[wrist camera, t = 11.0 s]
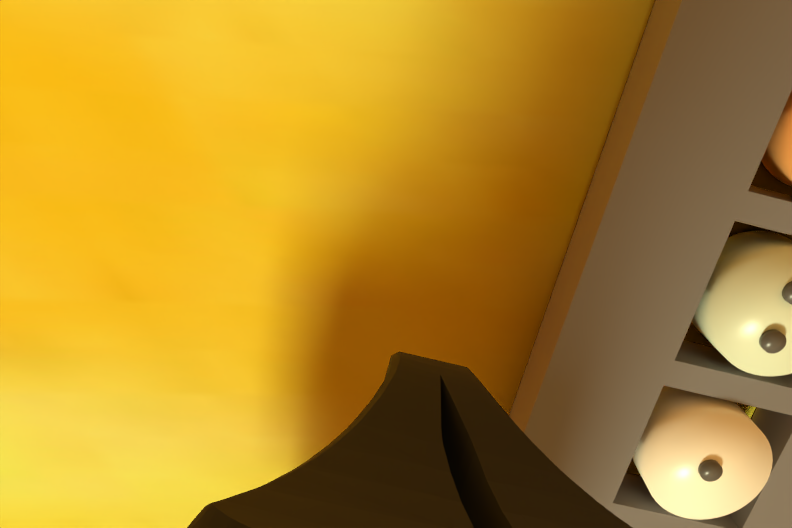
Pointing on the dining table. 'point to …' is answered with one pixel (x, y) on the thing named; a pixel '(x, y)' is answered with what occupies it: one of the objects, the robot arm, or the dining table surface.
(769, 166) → the button three
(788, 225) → the button panel
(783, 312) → the button two
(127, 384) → the dining table surface
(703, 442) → the button one
